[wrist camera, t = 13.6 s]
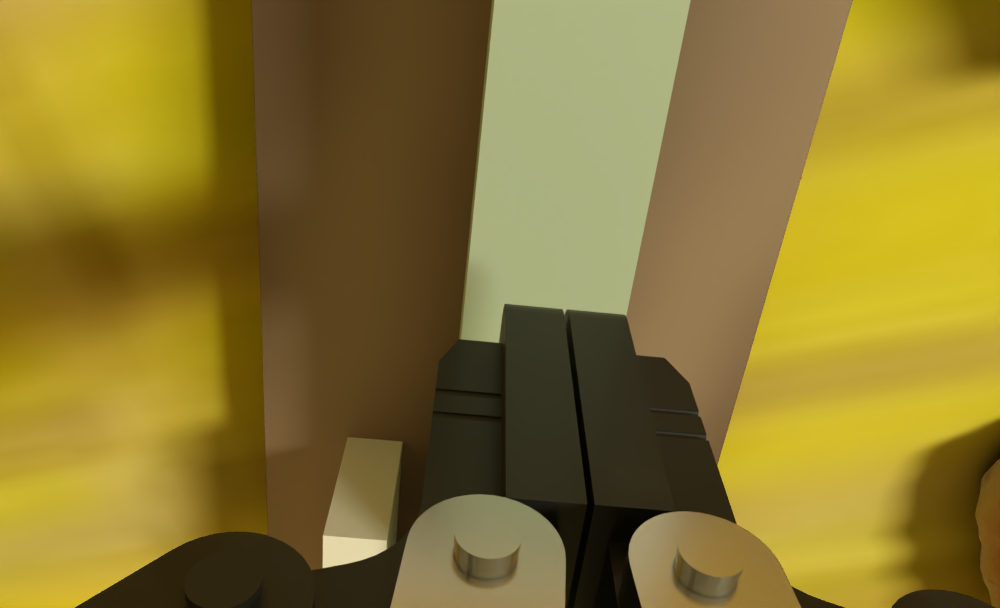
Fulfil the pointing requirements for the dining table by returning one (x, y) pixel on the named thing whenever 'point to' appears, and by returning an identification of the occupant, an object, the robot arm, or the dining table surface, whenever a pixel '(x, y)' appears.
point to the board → (447, 214)
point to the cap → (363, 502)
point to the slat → (567, 153)
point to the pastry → (990, 531)
